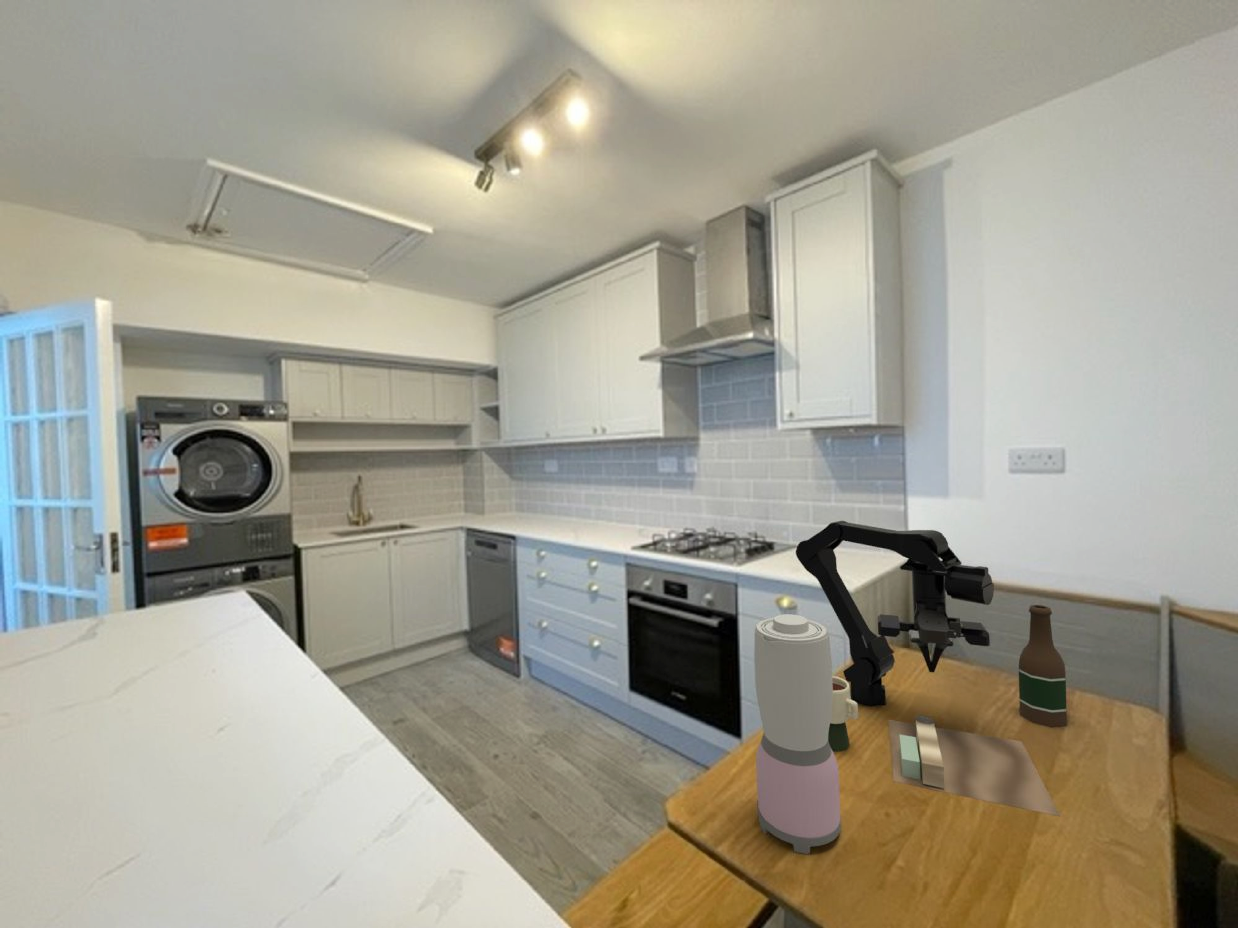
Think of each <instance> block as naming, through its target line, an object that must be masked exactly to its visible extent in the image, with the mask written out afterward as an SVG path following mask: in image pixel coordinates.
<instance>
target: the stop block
mask: <svg viewBox="0 0 1238 928" xmlns="http://www.w3.org/2000/svg"><path fill="white" fill-rule="evenodd" d="M899 738H900V756H901V765H902V774H903V776H904V777H909V778H914V779H919V780H920V761H919V755H918V749H917V743H916V737H911V736H905V735H900V734H899Z"/></svg>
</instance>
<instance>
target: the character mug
mask: <svg viewBox="0 0 1238 928" xmlns="http://www.w3.org/2000/svg"><path fill="white" fill-rule="evenodd" d="M832 683H833V701H832V711H831V718H830V726H829V733H828V742H829V745H830V747H831V749H832V751H833V753H835V752H837V753H838V752H839V753H841V752H843V751H847V750H848V749H849V748H850V739H849V733H848V728H847V724H846V722H848V721H849V719H852V720H858V718H859V706H858V705H859V704H858V703H857V702H855V701H853V700H851V685H850V682H848V681H846V679H844V678H843V677H840V676H835V675H832Z"/></svg>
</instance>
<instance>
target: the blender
mask: <svg viewBox="0 0 1238 928" xmlns="http://www.w3.org/2000/svg"><path fill="white" fill-rule="evenodd" d="M830 643H831V642H830V633H829V630H828V629H827V628H826V627H825V626H824V625H823V624H820V623H819V622H817V621H813V620H810V619H807V618H806V617H805V616H803V615H799V614H791V613H786V614H785V613H784V614H778V615H776V616H774V617H771V618H767V619H763V620H761V621H759V622H758V623H757V624H756V626H755V627H754V649H753V651H754V653H753V657H754V658H753V659H754V679H755V680H754V681H755V693H756V698H757V705H758V710H759V715H760V719H761V723H762V730H763V732H762V737H761V739H760V742H759V744H758V746H757V749H756V756H755V767H756V768H755V770H756V787H757V788H756V790H757V791H756V792H757V800H756V801H757V803H756V804H757V806H756V809H757V816H758V817H757V818H758V822H759V826H760V829H761V831H762V832H763V833H764V834H768V833H770V834H771V835H773V836H775V837H776V838H777V839H780V840H781V841H784V842H786V843H789V844H792V846H793V852H795V853H798V854H804V855H806V854H807V855H809V854H811V853H810V852H811V847H820V846H824V845H826V844H829V843H831V842H833V841H834V840H835V839H837V838H838V836H839V835H840V833H841V829H842V826H841V825H842V819H841V804H840V803H841V800H840V799H841V798H840V797H841V795H840V775H839V773H840V772H839V765H838V762H837V758H836V756H835V752H834V751H832V749H831V747H830V745H829V742H828V733H829V726H830V718H831V711H832V701H833V683H832V676H833V665H832V664H833V662H832V653H831V644H830Z"/></svg>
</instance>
